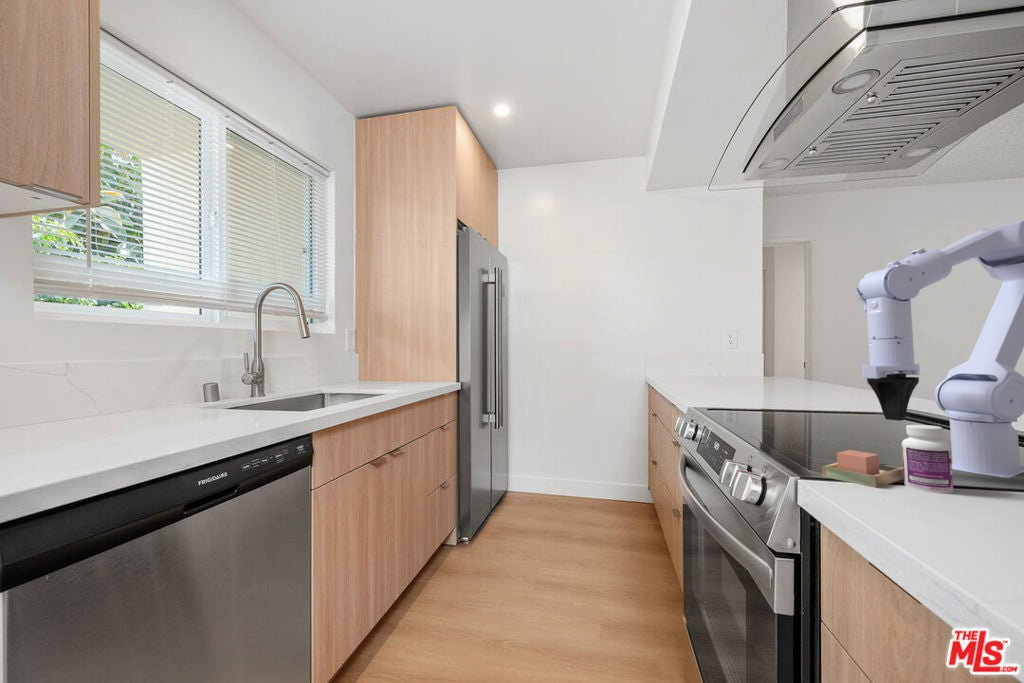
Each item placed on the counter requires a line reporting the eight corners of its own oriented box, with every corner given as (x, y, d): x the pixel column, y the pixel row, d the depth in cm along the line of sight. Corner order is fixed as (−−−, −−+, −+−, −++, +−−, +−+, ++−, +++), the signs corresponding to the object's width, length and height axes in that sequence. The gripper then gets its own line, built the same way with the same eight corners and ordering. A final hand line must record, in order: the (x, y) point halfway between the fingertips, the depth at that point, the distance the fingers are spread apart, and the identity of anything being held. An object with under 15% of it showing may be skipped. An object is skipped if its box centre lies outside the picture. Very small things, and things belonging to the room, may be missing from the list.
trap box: (872, 466, 79) (872, 454, 79) (925, 475, 73) (924, 462, 73) (822, 479, 72) (821, 466, 72) (875, 491, 65) (875, 476, 65)
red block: (850, 474, 73) (849, 449, 73) (879, 479, 69) (878, 454, 69) (838, 477, 71) (836, 452, 71) (867, 483, 67) (865, 457, 67)
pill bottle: (964, 497, 62) (959, 429, 62) (921, 496, 63) (917, 429, 63) (935, 486, 67) (930, 423, 67) (895, 485, 68) (891, 423, 68)
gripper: (883, 339, 80) (887, 413, 80) (839, 340, 74) (844, 420, 73) (933, 337, 74) (938, 417, 74) (890, 338, 68) (895, 426, 67)
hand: (894, 419), depth 73 cm, fingers closed
